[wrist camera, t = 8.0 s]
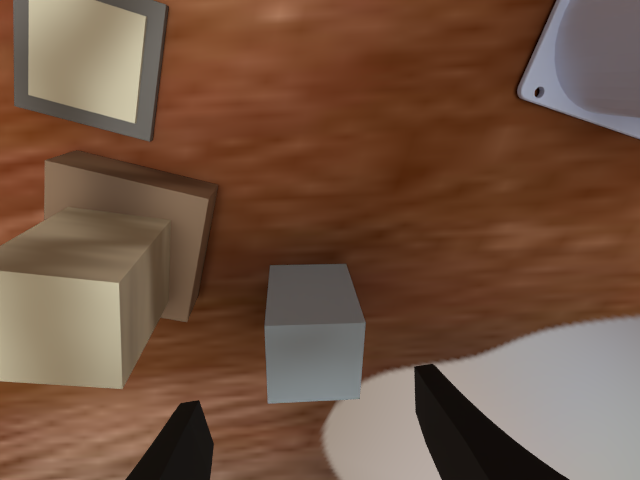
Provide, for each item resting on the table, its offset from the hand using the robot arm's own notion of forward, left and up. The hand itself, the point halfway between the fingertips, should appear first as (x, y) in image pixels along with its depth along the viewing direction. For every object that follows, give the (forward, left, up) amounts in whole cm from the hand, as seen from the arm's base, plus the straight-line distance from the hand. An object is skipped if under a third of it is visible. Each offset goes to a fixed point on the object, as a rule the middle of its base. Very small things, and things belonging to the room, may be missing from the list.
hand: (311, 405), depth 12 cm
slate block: (-1, +2, -10) cm, 11 cm away
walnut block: (+9, 0, -11) cm, 14 cm away
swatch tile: (+12, -8, -10) cm, 18 cm away
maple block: (+9, 0, -8) cm, 12 cm away
